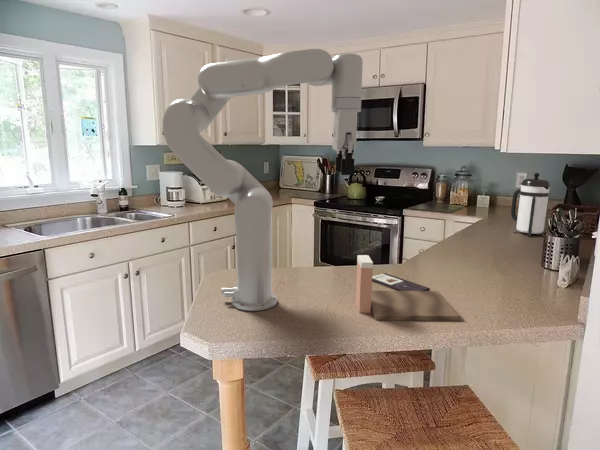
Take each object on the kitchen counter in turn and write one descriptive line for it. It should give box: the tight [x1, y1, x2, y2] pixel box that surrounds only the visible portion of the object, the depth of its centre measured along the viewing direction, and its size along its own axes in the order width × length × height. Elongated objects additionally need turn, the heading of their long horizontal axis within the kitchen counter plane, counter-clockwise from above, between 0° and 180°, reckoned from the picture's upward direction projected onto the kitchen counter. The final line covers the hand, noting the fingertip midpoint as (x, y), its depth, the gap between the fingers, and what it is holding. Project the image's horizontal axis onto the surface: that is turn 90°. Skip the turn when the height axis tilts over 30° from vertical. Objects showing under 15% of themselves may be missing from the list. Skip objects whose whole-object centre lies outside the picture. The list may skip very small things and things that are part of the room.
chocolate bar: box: [372, 272, 431, 291], centre depth 137 cm, size 9×1×18 cm
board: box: [371, 290, 462, 321], centre depth 119 cm, size 22×18×1 cm
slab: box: [355, 254, 374, 314], centre depth 116 cm, size 3×7×14 cm, turn 1°
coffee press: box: [510, 172, 552, 238], centre depth 208 cm, size 17×16×30 cm
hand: (344, 173), depth 113 cm, fingers open, 9 cm apart
